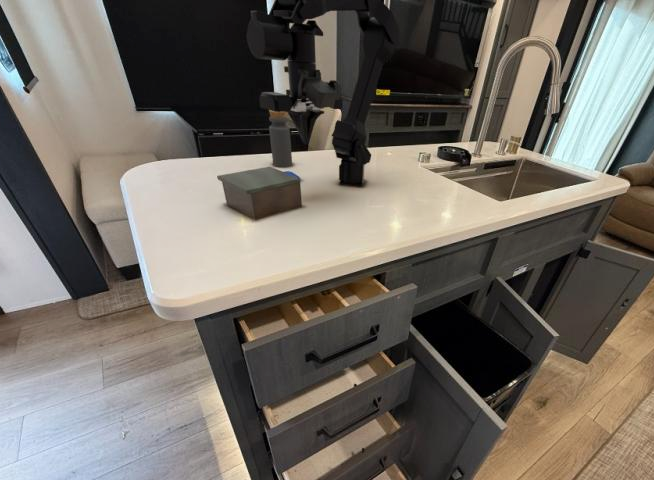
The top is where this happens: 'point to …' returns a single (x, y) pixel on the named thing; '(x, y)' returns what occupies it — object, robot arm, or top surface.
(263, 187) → the lid
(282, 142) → the bottle
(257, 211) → the box
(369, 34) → the robot arm
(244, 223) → the top surface
